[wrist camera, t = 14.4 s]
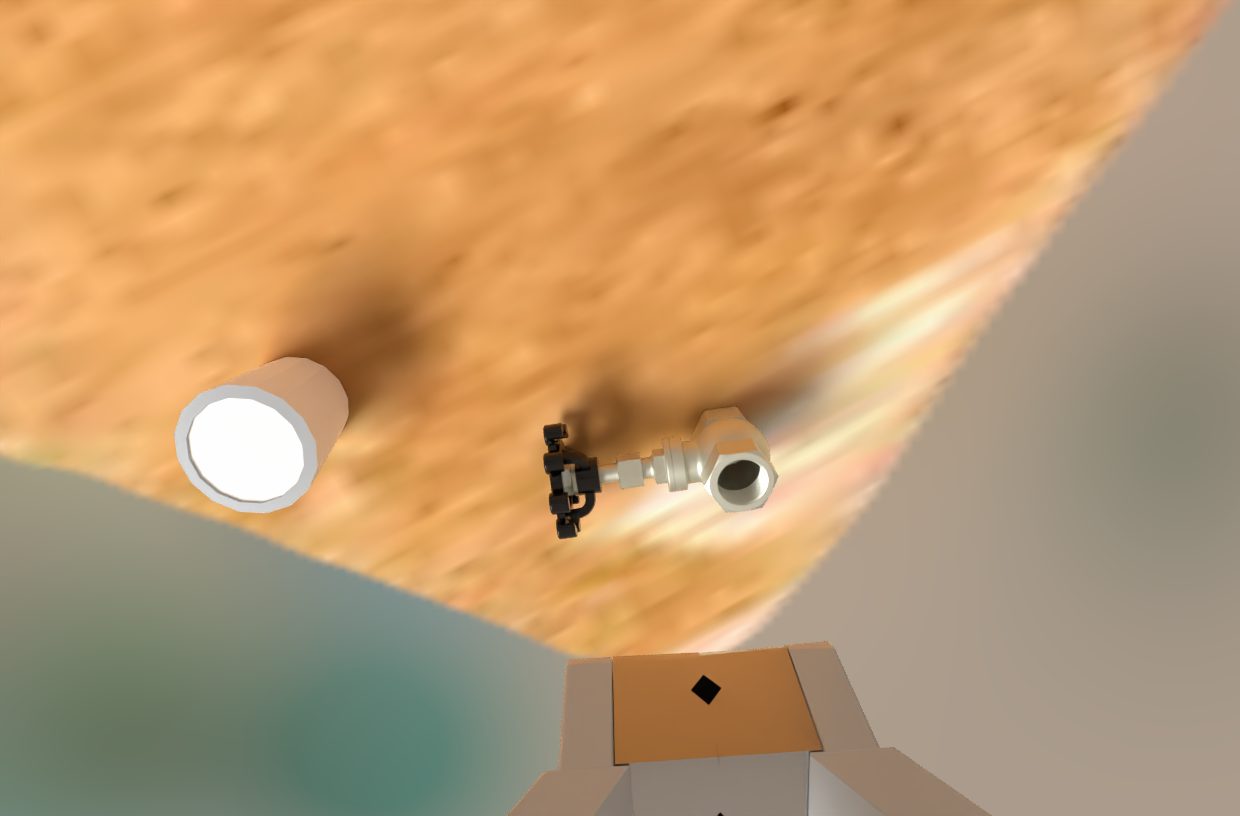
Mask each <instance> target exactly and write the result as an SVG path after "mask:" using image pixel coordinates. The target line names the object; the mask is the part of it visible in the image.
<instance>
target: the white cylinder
mask: <svg viewBox="0 0 1240 816" xmlns="http://www.w3.org/2000/svg"><path fill="white" fill-rule="evenodd" d="M348 416H349V409H348V397H347V395H346V393H345V391H344V389H343V386H342V384H341V382H340V380H339V379H338V378H337V377H335V376H334V375H333V374H332V373H331V372H330V371H329V370H328V369H327V368H326V367H325V366H323V365H321V364H318V363H316V362H314V361H312V360H309V359H307V358H298V357H284V358H281V359H278V360H275V361H272V362H269V363H267V364H264V365H262V366H260V367H258V368H256V369H253V370H251V371H249V372H247V373H244V374H242V375H240V376H238V377H235V378H233V379H231V380H229V381H226V382H224V383H222V384H220V385H217V386H215V387H213V388H211V389H209V390H206V391H204V392H202V393H200V394H199V395H198V396H197V397H196V398H195V399H194V400H193V401H192V402H191V403H189V404H188V405H187V406H186V407H185V408H184V409H183V410H182V412H181V415H180V418H179V421H178V424H177V427H176V430H175V433H174V436H175V443H176V451H177V458H178V461H179V462H180V464H181V466H182V468H183V469H184V471H185V473H186V474H187V476H188V478H189V480H190V481H191V483H192V484H193V485H195V486H196V487H197V488H198V489H199V490H200V491H202V492H203V493H204V494H205V495H206V496H208V497H209V498H210V499H211V500H212V501H214V502H217V503H219V504H221V505H224V506H226V507H229V508H231V509H234V510H236V511H239V512H255V513H268V512H272V511H275V510H278V509H281V508H284V507H287V506H291V505H292V504H293V503H294V502H295V501H296V500H297V499H298V498H300V497H301V496H302V495H303V494H304V493H305V492H306V491H308V490H309V488H310V486H311V484H312V483H313V481H314V479H315V478H316V476H317V474H318V472H319V471H320V469H321V467H322V466H323V464H324V462H325V460H326V459H327V457H328V455H329V453H330V452H331V450H332V448H333V447H334V445H335V443H336V441H337V440H338V438H339V436H340V435H341V433H342V431H343V428H344V426H345V424H346V421H347V419H348Z"/></svg>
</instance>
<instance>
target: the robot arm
mask: <svg viewBox="0 0 1240 816" xmlns="http://www.w3.org/2000/svg"><path fill="white" fill-rule="evenodd" d="M565 671H566V672H565V685H564V698H563V712H562V726H561V740H560V754H559V767H558V770H556V771H545V772H544V773H543V774H542V775H541V776H540V777H539V778H538V780H537V781H536V782H535V783H534V784H533V786H532V787H531V788H530V789H529V790H528V791H527V792H526V794H525V795H524V796H523V797H522V798H521V799H520V801H519V802H518V803H517V804H516V805H515V806H514V808H513V809H512V810H511V811H510V812H509V814H508V815H507V816H992V815H990V814H989V813H987V812H986V811H984V810H983V809H982V808H980V807H979V806H977V805H976V804H974V803H973V802H972V801H970V800H969V799H967V798H966V797H964V796H963V795H962V794H960V793H959V792H957V791H956V790H954V789H953V788H952V787H950V786H948V785H947V784H946V783H944V782H943V781H942V780H940V779H939V778H937V777H936V776H934V775H933V774H932V773H930V772H929V771H927V770H926V769H924V768H923V767H922V766H920V765H919V764H917V763H916V762H914V761H913V760H912V759H910V758H909V757H907V756H906V755H904V754H903V753H901V752H900V751H899V750H897V749H896V748H894V747H890V748H880V747H879V745H878V743H877V741H876V738H875V736H874V734H873V732H872V729H871V727H870V725H869V723H868V721H867V719H866V716H865V714H864V712H863V710H862V708H861V705H860V703H859V701H858V699H857V697H856V694H855V692H854V690H853V688H852V686H851V684H850V681H849V679H848V677H847V675H846V672H845V670H844V668H843V666H842V664H841V662H840V659H839V657H838V655H837V653H836V650H835V648H834V646H833V645H831V644H830V643H829V642H828V641H824V642H814V643H804V644H793V645H784V647H775V648H760V649H747V650H734V651H720V652H707V653H680V654H659V655H637V656H616V657H613V660H612V658H610V657H604V658H587V659H570V660H569V661H568V663H567V666H566V670H565Z"/></svg>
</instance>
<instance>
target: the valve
mask: <svg viewBox="0 0 1240 816" xmlns="http://www.w3.org/2000/svg"><path fill="white" fill-rule="evenodd" d="M543 432H544V439H545V443H546V445H547V446H548V453H545V454H544V456H543V460H544V468H545V472H546V474H548V475H549V476H550V482H551V490H552V493H550V494H549V505H550V510H551V513H552V514H553V515H555V514H557V517H558V519H557V520H556V528H557V534H558V538H559V539H566V538H573V537H577V532H580V531H581V524H580V518H583V517H585V516H587V515H588V514H589V513H590V512H591V511H592V510H593V508H594V506H595V502H596V495H595V493H601V492H602V483H609V482H616V481H619V484H620V487H621V488H622V489H626V488H633V487H640V486H644V479H648V478H654V479H655V480H656V483H657V484H662V483H668V487H669V491H670V492H675V491H682V490H687V489H688V484H689V483H696V482H702V483H703V484H704V487H705V488H706V489H707V491H708V492H709V493H710V495H711V496H712V497H713V498H714V500H715V501H716V502H717V503H718V504H719V505H720V507H721V508H722V509H723V510H724V511H725V512H741V511H748V510H754V509H758V508H762V507H763V505H764V504H765V502H766V501H767V499H768V497H769V496H770V494H771V492H772V490H773V488H774V486H775V483H776V481H777V478H778V475H777V473H776V471H775V469H774V467H773V465H772V463H771V462H770V449H769V445H768V443H767V441H766V438H765V437H764V435H763V434H762V433H761V431H760V430H759V429H758V428H757V427H755V426H754V425H753V424H751V423H750V422H748V420H747V419H746V418H745V417H744V415H743V414H742V413H741V411H740V410H739V409H738V408H737V406H733V407H726V408H719V409H712V410H706V411H704V412H703V413H702V415H701V418H700V420H699V422H698V424H697V426H696V428H695V431H694V433H693V435H692V437H691V441H686V442H682V441H681V438H680V437H679V436H678V437H671V438H664V439H662V445H663V448H662V449H656V450H652V455H651V456H650V457H647V458H640V452H634V453H627V454H620V455H617V457H616V462H617V463H615V464H608V465H601V466H599V461H598V458H597V457H593V458H588V457H587V456H586V455H584V454H582V453H580V452H575V451H572V449H568V450H566V449H565V446H564V443H563V441H562V440H561V439H562V438H568V430H567V426H566V424H562V423H559V424H551V425H545V426H544V428H543ZM580 495H585V498H586V502H585V505H584V506H583V507H582V508H578V509H573V504H578V503H579V496H580Z"/></svg>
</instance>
